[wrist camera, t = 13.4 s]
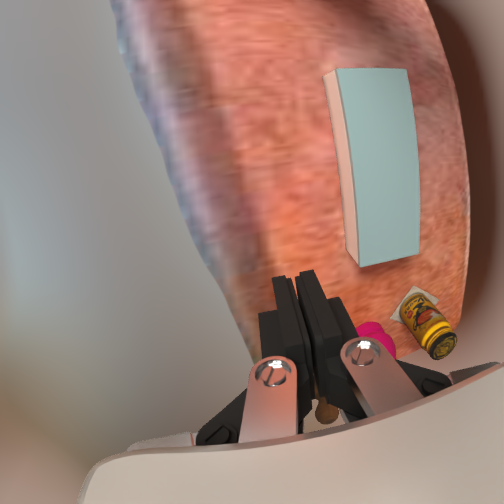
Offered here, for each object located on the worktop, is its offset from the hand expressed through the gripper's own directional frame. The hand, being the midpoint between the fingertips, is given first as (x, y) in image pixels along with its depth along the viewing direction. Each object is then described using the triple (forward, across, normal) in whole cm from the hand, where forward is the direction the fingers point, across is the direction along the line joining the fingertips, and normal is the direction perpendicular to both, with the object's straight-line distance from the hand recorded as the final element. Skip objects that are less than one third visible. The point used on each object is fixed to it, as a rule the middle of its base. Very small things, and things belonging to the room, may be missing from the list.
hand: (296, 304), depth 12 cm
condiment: (+27, -24, +27) cm, 45 cm away
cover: (+22, -15, 0) cm, 27 cm away
